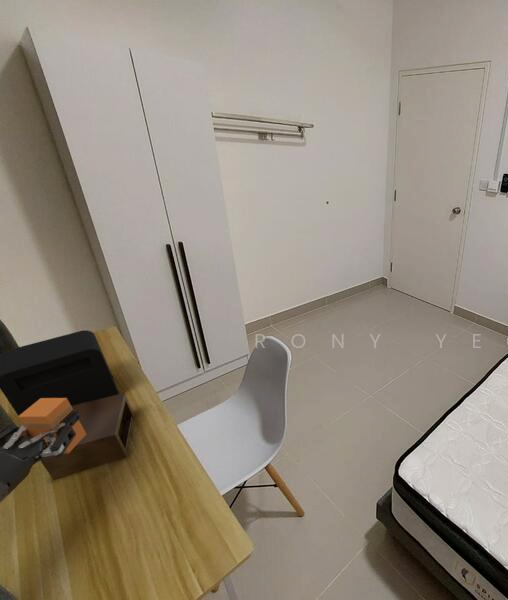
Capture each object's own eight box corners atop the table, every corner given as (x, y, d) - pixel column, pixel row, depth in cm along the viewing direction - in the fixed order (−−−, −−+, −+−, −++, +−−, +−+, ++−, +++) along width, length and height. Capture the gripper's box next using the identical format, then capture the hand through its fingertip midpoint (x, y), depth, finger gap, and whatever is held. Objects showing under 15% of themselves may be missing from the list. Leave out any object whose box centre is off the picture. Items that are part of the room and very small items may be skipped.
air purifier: (113, 374, 111) (91, 325, 102) (121, 398, 103) (99, 346, 94) (28, 404, 98) (-6, 350, 89) (29, 433, 90) (-8, 377, 80)
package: (68, 453, 69) (45, 416, 64) (42, 454, 68) (17, 416, 63) (86, 434, 73) (67, 397, 68) (62, 434, 73) (40, 397, 68)
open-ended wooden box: (54, 481, 79) (37, 456, 75) (72, 432, 91) (58, 408, 87) (126, 458, 85) (115, 434, 81) (134, 415, 97) (124, 392, 93)
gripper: (-55, 504, 56) (34, 425, 71) (36, 501, 58) (105, 424, 73) (-82, 476, 53) (18, 400, 68) (16, 474, 54) (93, 399, 69)
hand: (63, 413), depth 70 cm, fingers closed on package, 5 cm apart
